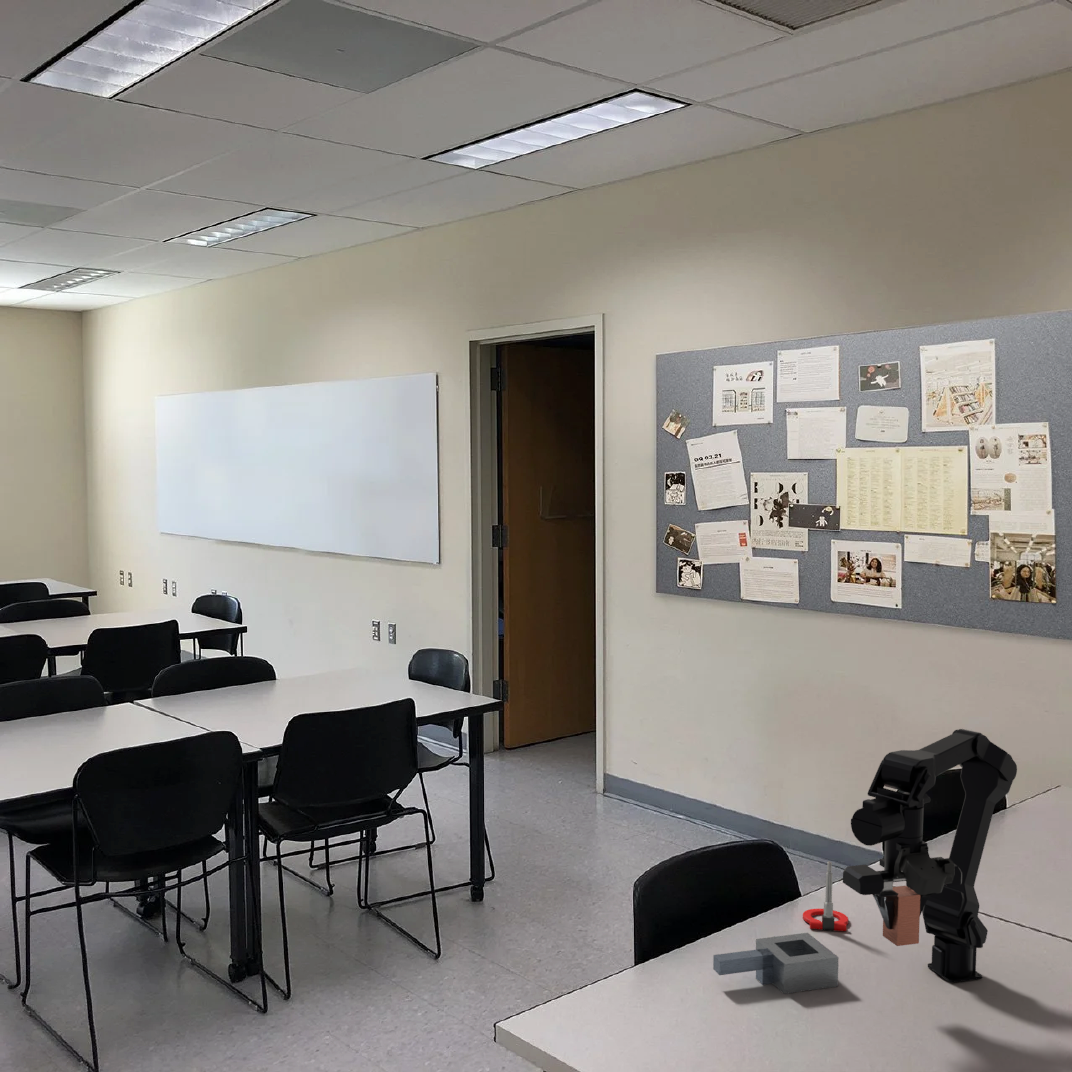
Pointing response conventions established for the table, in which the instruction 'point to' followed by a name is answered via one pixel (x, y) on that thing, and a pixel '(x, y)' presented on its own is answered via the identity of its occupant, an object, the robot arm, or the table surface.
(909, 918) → the square peg
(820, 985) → the square frame with handle
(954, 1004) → the table surface
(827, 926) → the tow hook
